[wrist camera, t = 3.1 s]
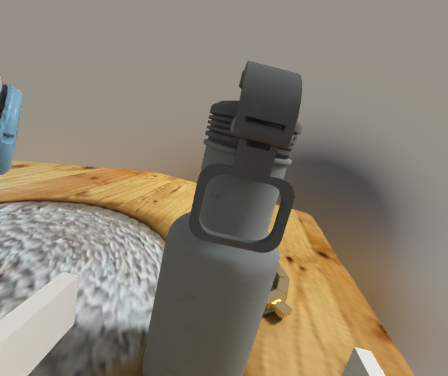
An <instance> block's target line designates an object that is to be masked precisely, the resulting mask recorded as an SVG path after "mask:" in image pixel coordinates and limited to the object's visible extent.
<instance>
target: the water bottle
mask: <svg viewBox="0 0 448 376" xmlns="http://www.w3.org/2000/svg"><path fill="white" fill-rule="evenodd" d="M239 87H240V88H241V89H242V91H241V96H240V100H239V101H221V102H218V103H215V104H213V105H212V106H211V110H210V113H211V114H213V116H209V118H210V119H212V120H211V121H208V123H210V124H211V125H210V126H207V128H208V129H210V130H209V131H206V133H205V134H206V135H208V136H209V138H208V139H205V140H204V144H205V145H206V150H205V154H204V159H203V163H202V168H201V172H200V175H199V178H198V182H197V186H196V191H195V196H194V200H193V205H192V210H191V212H189V213H186V214H184V215H182V216H181V217H179V218H178V219H177V220H176V221H175V222H174V223H173V224H172V225H171V227H170V229H169V232H168V235H167V239H166V243H165V248H164V253H163V258H162V264H161V269H160V274H159V279H158V284H157V289H156V294H155V300H154V305H153V310H152V315H151V320H150V325H149V330H148V336H147V341H146V346H145V351H144V356H143V364H142V372H143V376H243V374H244V371H245V368H246V365H247V362H248V359H249V356H250V352H251V349H252V346H253V343H254V340H255V337H256V334H257V331H258V328H259V325H260V321H261V318H262V315H263V312H264V309H265V306H266V303H267V300H268V297H269V294H270V291H271V287H272V284H273V281H274V278H275V275H276V272H277V268H278V264H279V251H278V245H279V244H280V242H281V240H282V237H283V234H284V230H285V227H286V224H287V221H288V218H289V215H290V212H291V208H292V205H293V202H294V197H295V196H294V190H293V188H292V186H291V185H290V184H289V183H288V182H287V181H285V180H284V179H283V177H284V174H285V171H286V168H287V165H291V163H292V161H291V160H290V159H289V156H291V155H292V153H293V151H292V149H294V146H293V145H294V144H295V143H296V141H295V139H297V134H300V133H301V129H302V126H301V124H300V123H299V122H298V121H297V118H298V114H299V108H300V104H301V95H302V80H301V76H300V75H299V74H298V73H294V72H290V71H286V70H282V69H279V68H275V67H271V66H267V65H263V64H259V63H255V62H252V61H248V62H247V64H246V67H245V70H244V71H243V72H242V76H241V80H240V84H239ZM279 192H280V194H281V204H280V207H279V210H278V214H277V217H276V220H275V224H274V227H273V229H272V232H271V233H270V234H269V232H268V228H269V224H270V221H271V218H272V214H273V211H274V208H275V204H276V201H277V198H278V194H279Z"/></svg>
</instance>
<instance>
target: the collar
mask: <svg viewBox="0 0 448 376" xmlns="http://www.w3.org/2000/svg"><path fill="white" fill-rule="evenodd" d="M289 280H290V279H289V277H288V276H287V274H286V273H285V271H284V270H283V268H282V267H281V266H280V264H278V268H277V272H276V275H275V278H274V281H273V284H272V287H271V291H270V294H269V297H268V300H267V303H266V306H265V309H264V312H263V315H262V317H265V316H269V315H271V314H274V313H277V314H278V315H279V316H280V317H281V318H282V319H283V318H285V317H286V316H288V315H290V314H291V312H292V308H291V307H290V306H288V305H287V304H286V303H285V300H286V297H287V293H288V286H289Z"/></svg>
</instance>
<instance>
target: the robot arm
mask: <svg viewBox="0 0 448 376" xmlns="http://www.w3.org/2000/svg"><path fill="white" fill-rule="evenodd" d="M22 99H23V95H22V92H21V91H20V90H19V89H17V88H14V87H12V86H11V85H8V84H3V83H2V78H1V75H0V175H2V174H5V173H6V172H8V171H9V169H10V167H11V164H12V160H13V154H14V149H15V144H16V138H17V132H18V126H19V120H20V113H21V107H22ZM78 281H79V275H75V274H71V273H67V272H62V273H61V274H60V275H58V276H57V277H56V278H54V279H53V280H52V281H51V282H49V283H48V284H47V285H45V286H44V287H43V288H41V289H40V290H39V291H38V292H36V293H35V294H34V295H32V296H31V297H30V298H28V299H27V300H26V301H25V302H23V303H22V304H21V305H19V306H18V307H17V308H15V309H14V310H13V311H11V312H10V313H9V314H8V315H6V316H5V317H4V318H2V319H1V320H0V376H28V375H29V374H30V373H31V372H32V370H33V369H34V368H35V367H36V366H37V365H38V364H39V363H40V361H41V360H42V359H43V358H44V357H45V356H46V355H47V354H48V352H49V351H50V350H51V349H52V348H53V347H54V346H55V345H56V343H57V342H58V341H59V340H60V339H61V338H62V337H63V336H64V334H65V333H66V332H67V331H68V330H69V329H70V328H71V327H72V325H73V324H74V319H75V310H76V300H77V291H78ZM342 376H385V374H384V373H383V371H382V369H381V368H380V366H379V364H378V362H377V361H376V359H375V357H374V356H373V354H372V352H371V351H368V350H364V349H360V348H356V347H354V349H353V351H352V354H351V356H350V358H349V360H348V363H347V365H346V367H345V370H344V372H343V374H342Z"/></svg>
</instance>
